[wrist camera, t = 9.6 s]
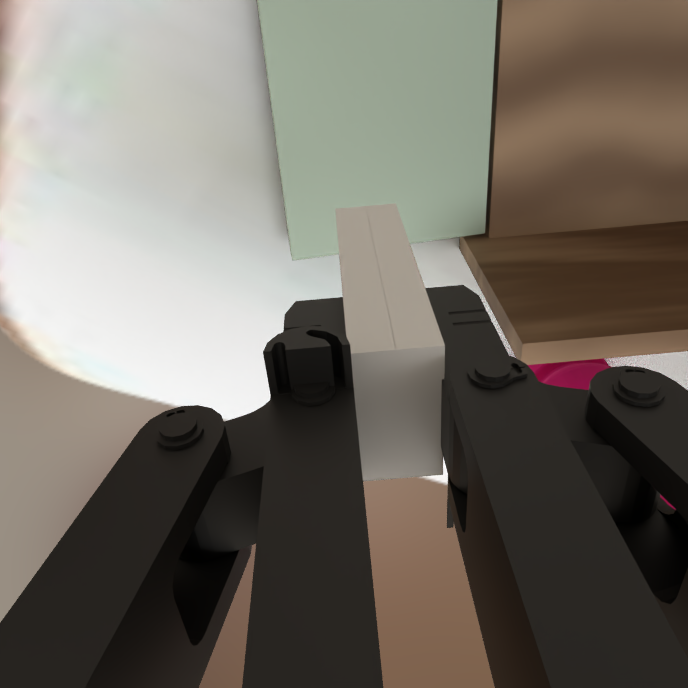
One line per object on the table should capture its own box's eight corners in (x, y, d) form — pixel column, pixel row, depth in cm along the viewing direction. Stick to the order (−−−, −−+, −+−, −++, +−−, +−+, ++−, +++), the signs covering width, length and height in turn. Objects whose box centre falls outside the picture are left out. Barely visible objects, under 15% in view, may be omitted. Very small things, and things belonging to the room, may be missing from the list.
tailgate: (484, 233, 37) (292, 260, 36) (474, 223, 38) (289, 249, 37) (503, -105, 28) (247, -84, 27) (488, -101, 29) (245, -81, 28)
